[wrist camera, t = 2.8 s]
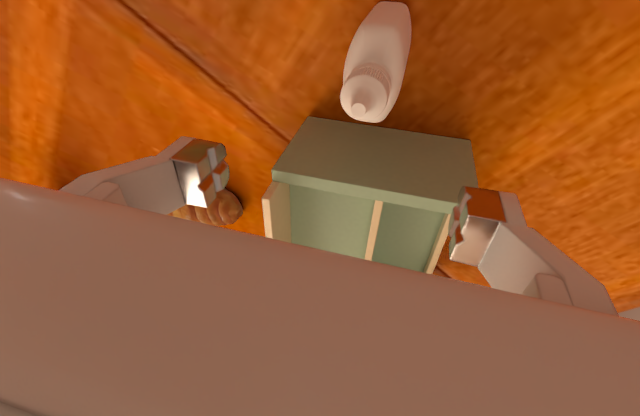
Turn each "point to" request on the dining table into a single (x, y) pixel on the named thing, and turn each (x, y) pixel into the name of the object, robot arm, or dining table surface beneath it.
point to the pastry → (213, 210)
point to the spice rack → (368, 191)
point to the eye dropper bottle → (376, 62)
